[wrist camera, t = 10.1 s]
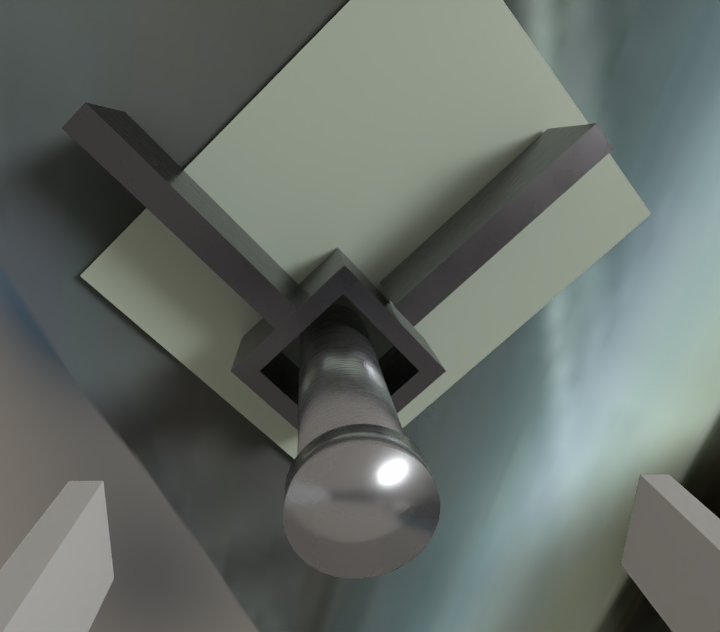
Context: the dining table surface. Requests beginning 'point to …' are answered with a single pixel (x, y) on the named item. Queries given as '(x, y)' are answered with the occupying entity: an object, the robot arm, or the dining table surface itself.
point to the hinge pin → (353, 460)
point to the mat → (376, 190)
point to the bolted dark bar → (494, 217)
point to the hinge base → (253, 269)
